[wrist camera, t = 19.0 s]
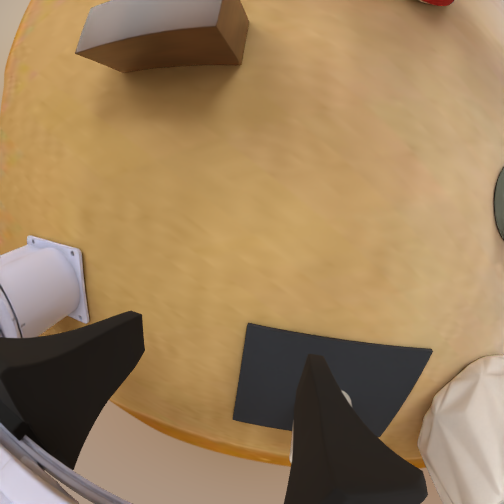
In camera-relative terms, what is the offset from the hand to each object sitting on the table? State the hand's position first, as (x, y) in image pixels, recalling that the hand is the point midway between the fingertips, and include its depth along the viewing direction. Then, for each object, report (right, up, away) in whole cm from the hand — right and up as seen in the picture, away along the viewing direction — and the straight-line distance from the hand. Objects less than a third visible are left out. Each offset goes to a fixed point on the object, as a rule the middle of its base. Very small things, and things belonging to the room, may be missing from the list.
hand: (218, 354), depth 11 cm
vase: (+25, -11, +9) cm, 29 cm away
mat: (+8, -8, +11) cm, 16 cm away
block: (-4, +20, +5) cm, 21 cm away
